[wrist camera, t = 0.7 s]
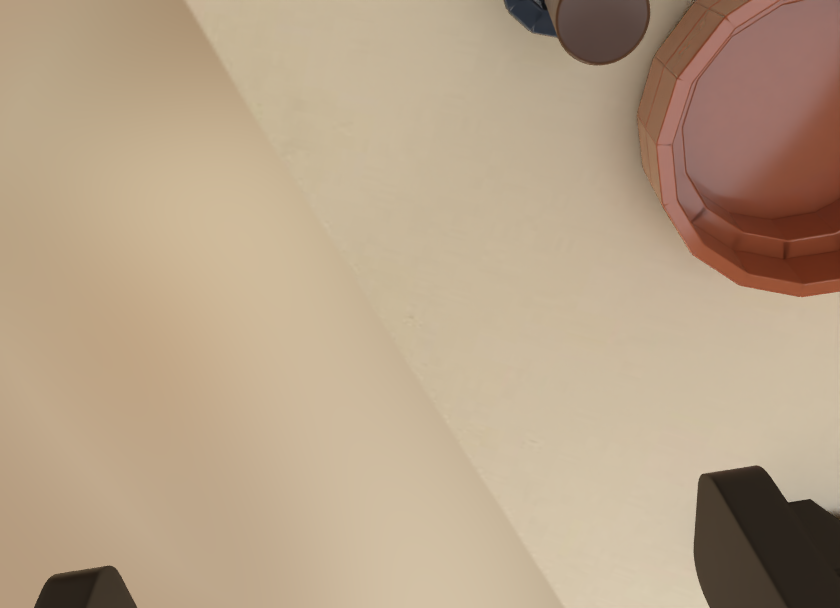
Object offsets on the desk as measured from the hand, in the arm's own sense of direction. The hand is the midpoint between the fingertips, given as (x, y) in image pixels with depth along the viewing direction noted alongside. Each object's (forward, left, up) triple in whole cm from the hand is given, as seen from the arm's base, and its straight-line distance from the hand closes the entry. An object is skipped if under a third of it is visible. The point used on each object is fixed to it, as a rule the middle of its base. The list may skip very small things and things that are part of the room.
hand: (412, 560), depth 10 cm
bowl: (-3, +13, -26) cm, 29 cm away
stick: (-7, +2, -25) cm, 26 cm away
